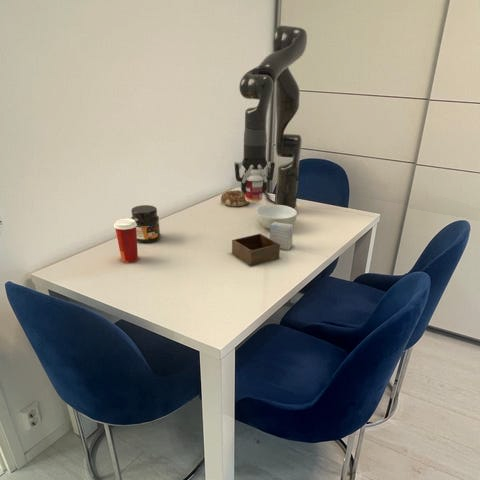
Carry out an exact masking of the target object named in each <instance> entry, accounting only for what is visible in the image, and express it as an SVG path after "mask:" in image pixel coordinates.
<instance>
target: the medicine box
mask: <svg viewBox="0 0 480 480" xmlns="http://www.w3.org/2000/svg"><path fill="white" fill-rule="evenodd" d="M293 236H294V224H293V225H290V224H285V223H278V222H274V223H272V224H271V225H270V229H269V237H268V238H269V239H271V240H273V241H275V242H276V243H278V244H280V250H287V251H289V250H290V249H291V248H292V247H293Z"/></svg>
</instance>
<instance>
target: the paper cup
mask: <svg viewBox="0 0 480 480" xmlns="http://www.w3.org/2000/svg"><path fill="white" fill-rule="evenodd" d="M136 226H137V224H136V222H135V220H133V219H131V218H121V219H120V218H119V219H117V220H116V221H114V224H113V227H114V230H115V235H116V239H117V244H118V249H119V253H120V258H121V261H122V262H123V263H127V264H129V263H131V264H132V263H135V262H137V261H138V259H139V258H138V256H139V255H138V253H139V252H138V242H137V233H136Z"/></svg>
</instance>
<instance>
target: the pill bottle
mask: <svg viewBox="0 0 480 480" xmlns="http://www.w3.org/2000/svg"><path fill="white" fill-rule="evenodd" d="M245 183H246V194H245V200H246V201H248V203H260V202H261V201H263V196H264V195H263V194H264V193H263V177H262V176H261V174H260V170H259V169H252V170H250V174H249V176H248V177H247V179H246V181H245Z"/></svg>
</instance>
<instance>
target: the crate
mask: <svg viewBox="0 0 480 480" xmlns="http://www.w3.org/2000/svg"><path fill="white" fill-rule="evenodd" d="M280 250H281V249H280V244H278V243H276V242H275V241H273V240H271V239H269V237H267V236H266V235H264V234H262V233H256V234H252V235H251V234H250V235H247V236H243V237H238V238H235V239H232V240H231V254H232V255H233V256H234V257H235V258H238V259H239V260H240V261H242V262H244V263H245V264H246V265H248V266H249V267H254V266H256V265H261V264H264V263H267V262H268V263H269V262H272V261H275V260H279V259H280V253H281V252H280Z"/></svg>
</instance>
